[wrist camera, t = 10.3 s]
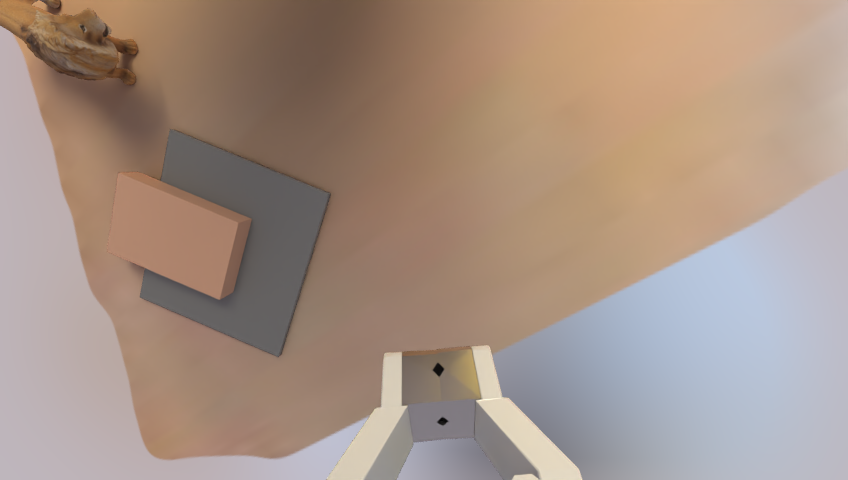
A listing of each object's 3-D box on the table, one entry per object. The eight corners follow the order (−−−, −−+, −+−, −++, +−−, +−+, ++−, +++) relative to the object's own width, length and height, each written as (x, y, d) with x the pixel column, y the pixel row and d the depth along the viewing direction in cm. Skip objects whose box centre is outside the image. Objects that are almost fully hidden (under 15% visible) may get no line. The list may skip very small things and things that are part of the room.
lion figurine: (178, 43, 32) (68, 0, 23) (168, 103, 33) (60, 83, 25) (32, -16, 32) (-129, -80, 24) (28, 45, 34) (-127, 6, 25)
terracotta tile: (252, 218, 34) (139, 171, 35) (238, 222, 32) (118, 172, 32) (234, 291, 36) (127, 246, 37) (219, 299, 34) (106, 251, 35)
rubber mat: (174, 129, 34) (169, 129, 33) (330, 193, 33) (328, 194, 33) (144, 295, 38) (139, 297, 38) (280, 354, 38) (278, 356, 37)
